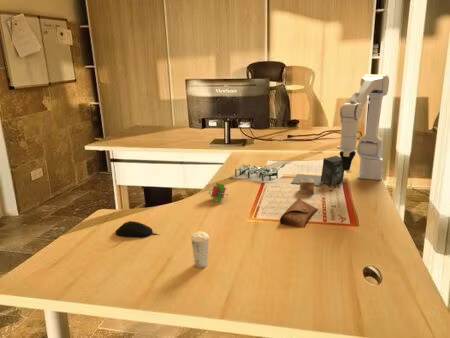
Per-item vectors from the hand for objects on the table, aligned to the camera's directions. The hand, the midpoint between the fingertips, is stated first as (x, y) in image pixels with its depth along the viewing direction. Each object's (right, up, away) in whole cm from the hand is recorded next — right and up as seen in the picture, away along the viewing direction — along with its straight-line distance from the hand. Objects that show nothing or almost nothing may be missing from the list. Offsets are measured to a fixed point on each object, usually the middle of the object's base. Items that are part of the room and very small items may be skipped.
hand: (346, 170), depth 146 cm
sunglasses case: (-21, -16, -18) cm, 32 cm away
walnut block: (-14, -9, +4) cm, 17 cm away
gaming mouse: (-74, -20, -28) cm, 81 cm away
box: (-2, -5, +15) cm, 16 cm away
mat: (-11, -4, +18) cm, 22 cm away
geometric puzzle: (-49, -12, -2) cm, 51 cm away
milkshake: (-54, -25, -47) cm, 75 cm away
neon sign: (-29, -1, +32) cm, 43 cm away
